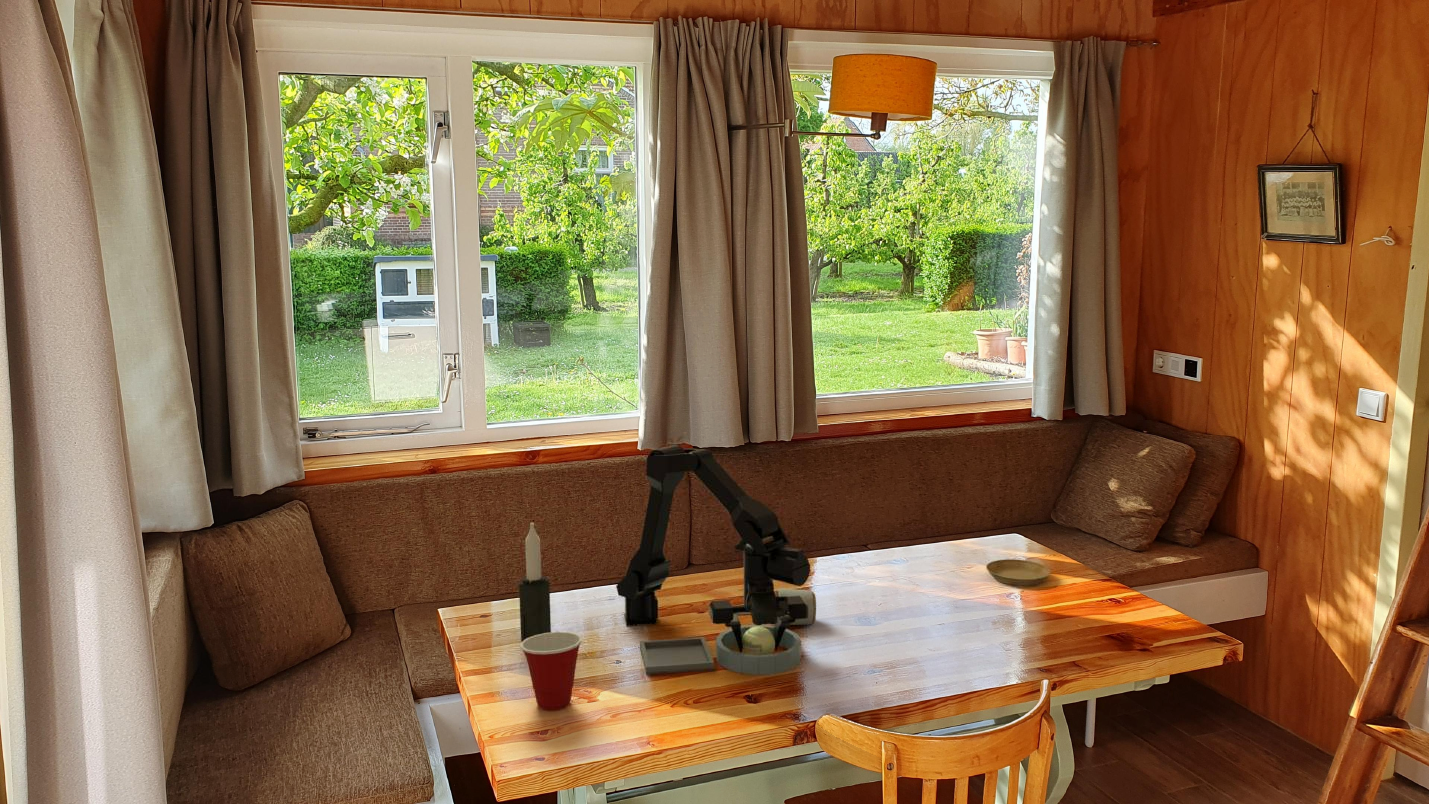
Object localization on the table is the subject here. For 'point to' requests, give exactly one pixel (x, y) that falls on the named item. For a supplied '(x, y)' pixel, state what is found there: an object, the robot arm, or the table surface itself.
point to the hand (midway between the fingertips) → (758, 651)
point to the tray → (676, 655)
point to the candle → (534, 592)
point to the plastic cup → (552, 667)
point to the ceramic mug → (809, 600)
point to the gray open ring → (758, 662)
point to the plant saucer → (1018, 572)
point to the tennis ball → (758, 641)
